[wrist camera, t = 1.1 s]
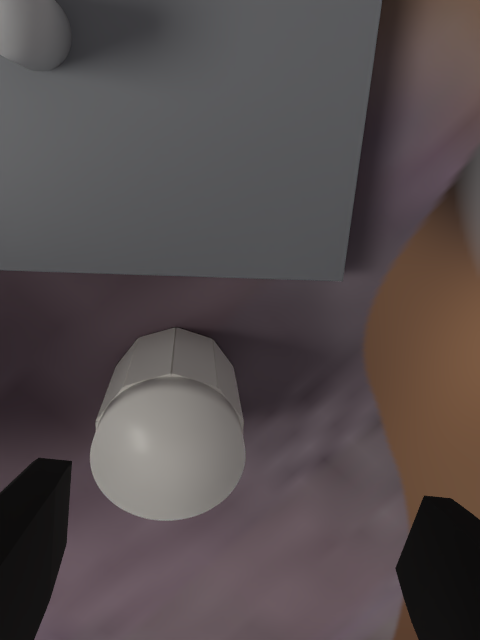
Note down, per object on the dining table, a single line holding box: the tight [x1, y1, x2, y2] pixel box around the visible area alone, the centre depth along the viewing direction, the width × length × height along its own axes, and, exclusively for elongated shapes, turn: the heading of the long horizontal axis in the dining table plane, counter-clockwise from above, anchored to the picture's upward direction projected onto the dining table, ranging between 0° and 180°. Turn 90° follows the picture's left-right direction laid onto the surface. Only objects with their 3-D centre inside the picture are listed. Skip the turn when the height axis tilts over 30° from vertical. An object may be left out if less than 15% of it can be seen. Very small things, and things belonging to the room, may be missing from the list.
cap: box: [90, 327, 246, 521], centre depth 16 cm, size 5×5×5 cm
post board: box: [0, 0, 382, 281], centre depth 12 cm, size 20×14×5 cm
